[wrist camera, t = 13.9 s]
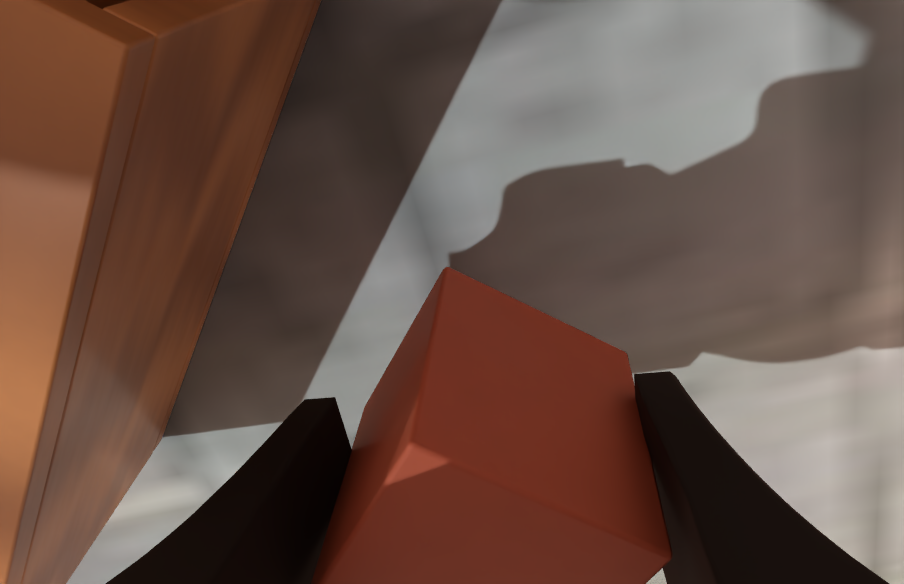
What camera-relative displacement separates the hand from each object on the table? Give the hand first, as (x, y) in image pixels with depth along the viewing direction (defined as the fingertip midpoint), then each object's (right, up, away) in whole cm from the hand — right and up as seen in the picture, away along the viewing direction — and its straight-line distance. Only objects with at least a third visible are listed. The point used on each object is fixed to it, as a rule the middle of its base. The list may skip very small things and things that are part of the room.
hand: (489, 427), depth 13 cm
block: (0, +1, +1) cm, 1 cm away
